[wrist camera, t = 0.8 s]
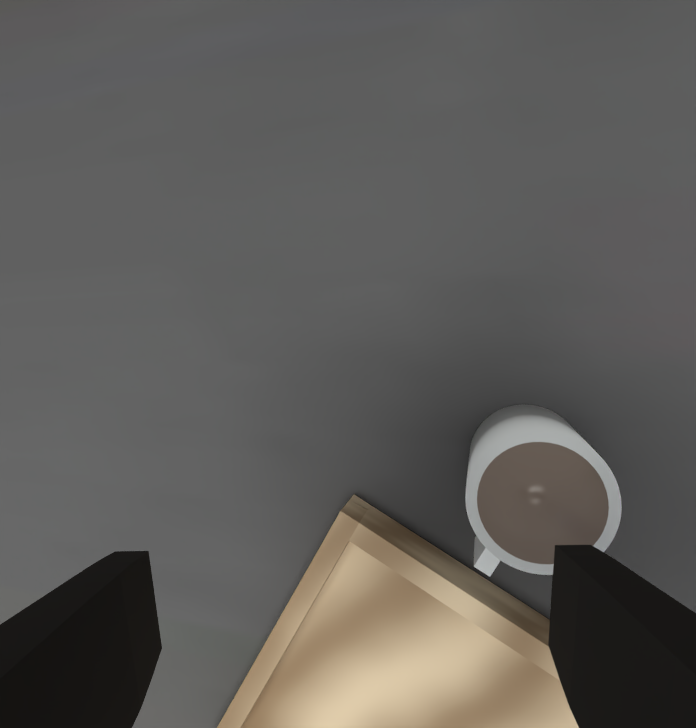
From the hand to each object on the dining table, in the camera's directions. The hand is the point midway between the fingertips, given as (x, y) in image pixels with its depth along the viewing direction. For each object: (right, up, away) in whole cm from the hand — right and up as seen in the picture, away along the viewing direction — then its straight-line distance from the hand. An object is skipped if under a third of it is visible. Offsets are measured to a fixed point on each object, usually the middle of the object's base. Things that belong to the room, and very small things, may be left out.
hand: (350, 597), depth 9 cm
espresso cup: (+8, 0, +15) cm, 17 cm away
